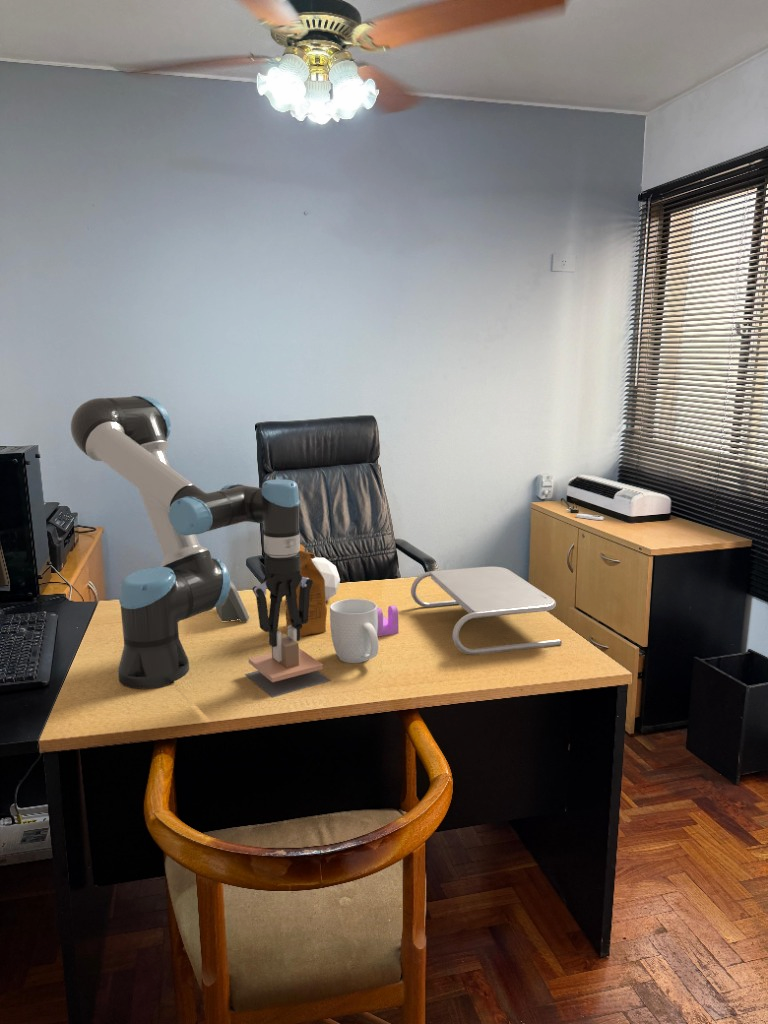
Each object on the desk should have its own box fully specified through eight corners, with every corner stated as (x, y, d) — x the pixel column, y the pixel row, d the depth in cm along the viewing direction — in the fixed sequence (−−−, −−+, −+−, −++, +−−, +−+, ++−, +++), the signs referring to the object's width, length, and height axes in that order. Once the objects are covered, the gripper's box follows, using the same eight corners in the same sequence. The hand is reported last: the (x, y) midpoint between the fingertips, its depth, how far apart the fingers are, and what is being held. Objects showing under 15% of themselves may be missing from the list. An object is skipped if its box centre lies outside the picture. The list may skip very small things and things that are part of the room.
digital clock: (249, 624, 193) (247, 586, 191) (215, 626, 191) (212, 588, 189) (248, 605, 208) (246, 569, 206) (216, 607, 207) (214, 571, 204)
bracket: (398, 633, 185) (398, 607, 183) (378, 636, 183) (377, 610, 181) (380, 617, 197) (380, 593, 195) (361, 620, 195) (360, 595, 193)
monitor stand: (562, 646, 175) (564, 604, 173) (453, 658, 169) (453, 614, 167) (502, 600, 211) (503, 564, 209) (410, 608, 204) (410, 572, 202)
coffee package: (319, 619, 195) (316, 540, 191) (330, 635, 184) (328, 551, 179) (282, 624, 192) (279, 544, 188) (291, 640, 181) (288, 555, 176)
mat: (272, 700, 148) (272, 697, 148) (244, 676, 160) (244, 674, 159) (331, 682, 156) (331, 680, 156) (300, 661, 167) (300, 659, 167)
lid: (272, 682, 149) (271, 655, 148) (248, 662, 159) (247, 637, 158) (322, 668, 156) (322, 642, 155) (297, 650, 165) (296, 626, 164)
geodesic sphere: (335, 593, 199) (338, 547, 205) (286, 592, 200) (290, 547, 206) (341, 609, 212) (343, 566, 218) (295, 609, 213) (298, 566, 219)
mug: (396, 667, 164) (396, 612, 161) (355, 678, 158) (354, 622, 155) (362, 646, 176) (361, 595, 173) (322, 656, 170) (321, 604, 168)
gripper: (254, 563, 145) (258, 672, 149) (324, 551, 153) (325, 654, 158) (239, 555, 151) (243, 660, 156) (307, 544, 160) (309, 644, 164)
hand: (285, 657), depth 157 cm, fingers closed on lid, 3 cm apart
